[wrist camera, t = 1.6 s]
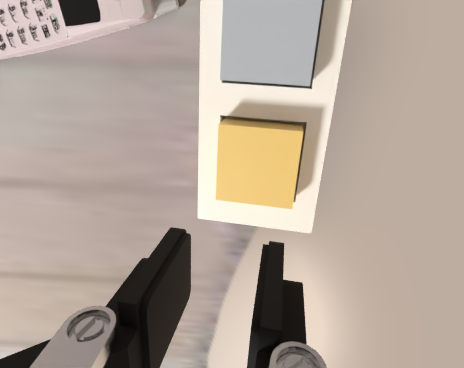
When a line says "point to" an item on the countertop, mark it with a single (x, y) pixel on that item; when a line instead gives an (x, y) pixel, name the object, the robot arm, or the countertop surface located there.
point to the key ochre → (258, 162)
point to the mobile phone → (69, 21)
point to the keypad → (269, 117)
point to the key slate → (269, 40)
